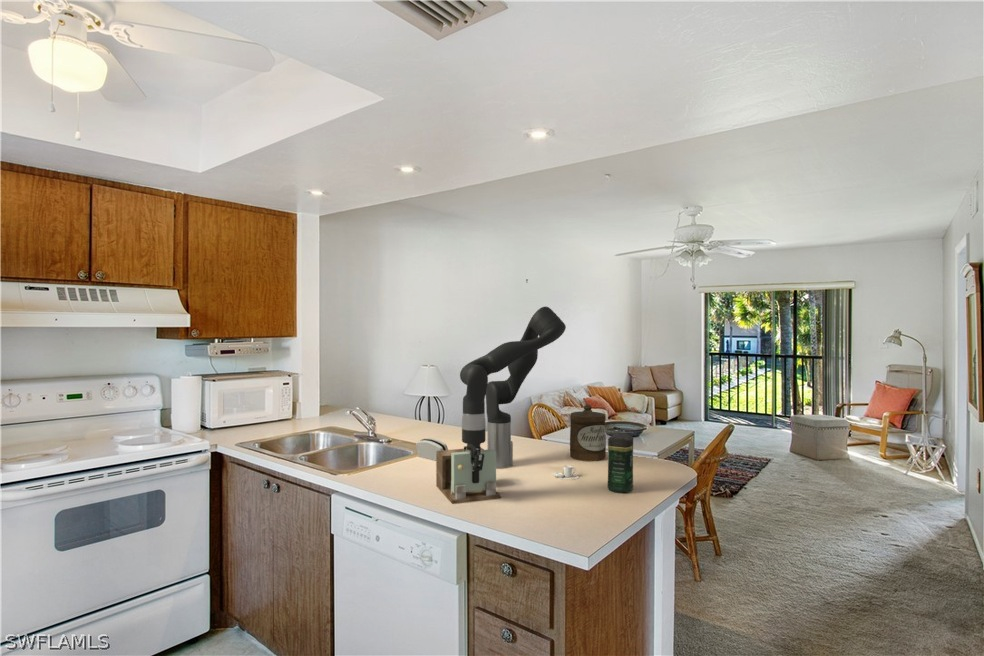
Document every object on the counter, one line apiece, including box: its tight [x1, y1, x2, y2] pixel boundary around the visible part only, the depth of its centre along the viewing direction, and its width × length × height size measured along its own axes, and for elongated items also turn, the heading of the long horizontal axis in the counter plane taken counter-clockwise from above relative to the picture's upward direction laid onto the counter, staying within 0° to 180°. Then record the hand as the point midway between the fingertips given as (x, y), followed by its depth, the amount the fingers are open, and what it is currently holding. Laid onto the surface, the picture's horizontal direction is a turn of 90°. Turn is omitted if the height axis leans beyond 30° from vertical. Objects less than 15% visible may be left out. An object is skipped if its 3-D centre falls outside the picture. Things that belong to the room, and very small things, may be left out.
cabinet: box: [435, 447, 502, 504], centre depth 172 cm, size 16×20×12 cm
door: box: [451, 449, 497, 493], centre depth 165 cm, size 14×4×12 cm, turn 111°
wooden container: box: [569, 404, 607, 462], centre depth 220 cm, size 15×15×22 cm
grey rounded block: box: [415, 437, 449, 462], centre depth 215 cm, size 17×5×10 cm, turn 50°
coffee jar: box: [607, 432, 634, 494], centre depth 175 cm, size 10×8×19 cm
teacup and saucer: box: [553, 465, 580, 481], centre depth 190 cm, size 9×8×4 cm
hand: (473, 481), depth 166 cm, fingers closed on door, 3 cm apart
